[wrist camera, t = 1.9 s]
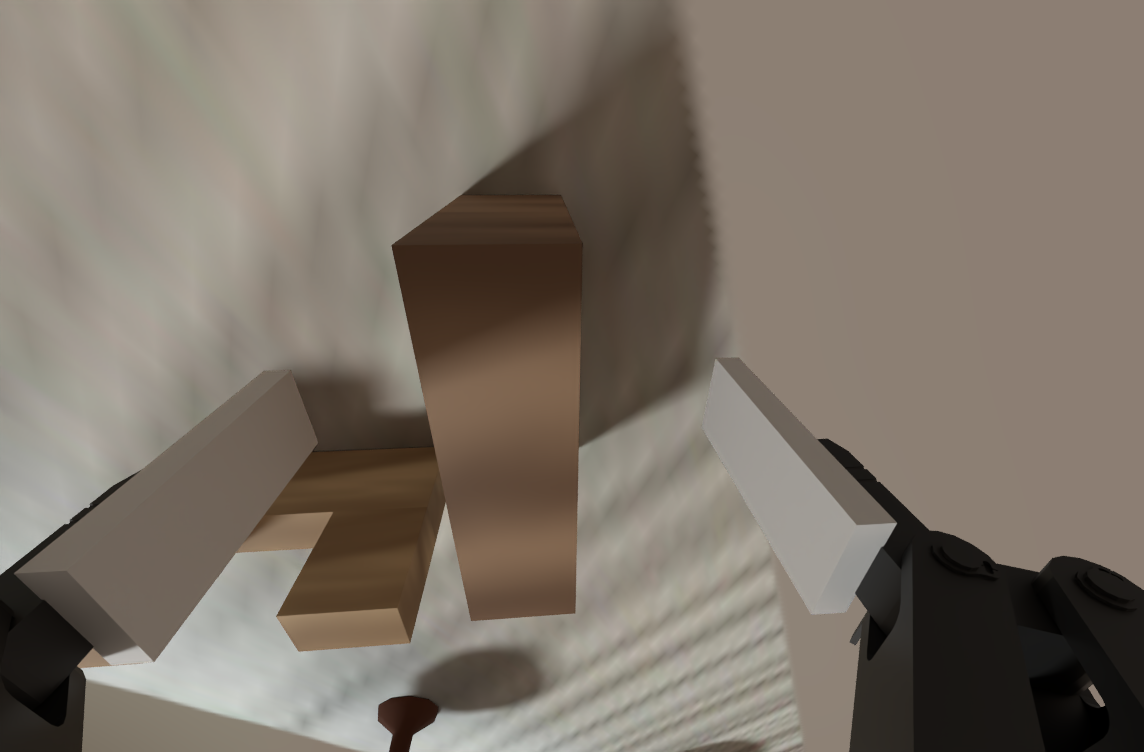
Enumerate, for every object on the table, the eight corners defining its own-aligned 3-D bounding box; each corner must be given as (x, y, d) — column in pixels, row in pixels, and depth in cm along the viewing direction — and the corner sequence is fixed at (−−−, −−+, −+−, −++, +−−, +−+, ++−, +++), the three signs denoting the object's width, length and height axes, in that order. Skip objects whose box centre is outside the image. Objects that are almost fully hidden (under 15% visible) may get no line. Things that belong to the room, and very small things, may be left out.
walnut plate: (461, 195, 16) (391, 245, 8) (560, 195, 16) (582, 243, 9) (492, 460, 23) (471, 621, 15) (562, 457, 23) (575, 613, 16)
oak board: (176, 458, 21) (-27, 637, 14) (445, 446, 22) (397, 608, 15) (197, 490, 23) (21, 672, 15) (451, 478, 24) (410, 643, 16)
